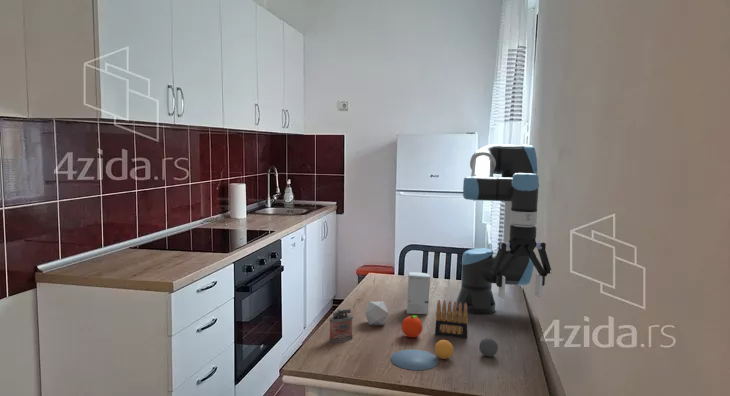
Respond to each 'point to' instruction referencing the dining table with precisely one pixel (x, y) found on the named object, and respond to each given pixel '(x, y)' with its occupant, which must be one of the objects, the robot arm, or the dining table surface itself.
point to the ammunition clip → (451, 321)
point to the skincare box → (418, 293)
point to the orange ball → (443, 349)
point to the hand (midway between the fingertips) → (519, 296)
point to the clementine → (412, 326)
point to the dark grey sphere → (488, 347)
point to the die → (376, 313)
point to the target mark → (414, 359)
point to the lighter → (341, 326)
